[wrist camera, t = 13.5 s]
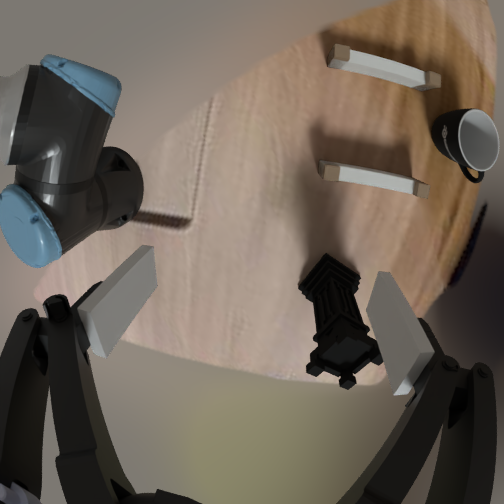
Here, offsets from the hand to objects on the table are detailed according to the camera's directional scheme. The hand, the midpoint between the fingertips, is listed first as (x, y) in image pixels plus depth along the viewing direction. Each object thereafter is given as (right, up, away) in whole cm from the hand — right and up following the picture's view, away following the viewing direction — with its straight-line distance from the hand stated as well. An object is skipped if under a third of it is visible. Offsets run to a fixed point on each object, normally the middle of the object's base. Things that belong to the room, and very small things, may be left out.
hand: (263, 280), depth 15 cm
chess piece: (+13, -4, +32) cm, 35 cm away
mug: (+32, +20, +19) cm, 42 cm away
